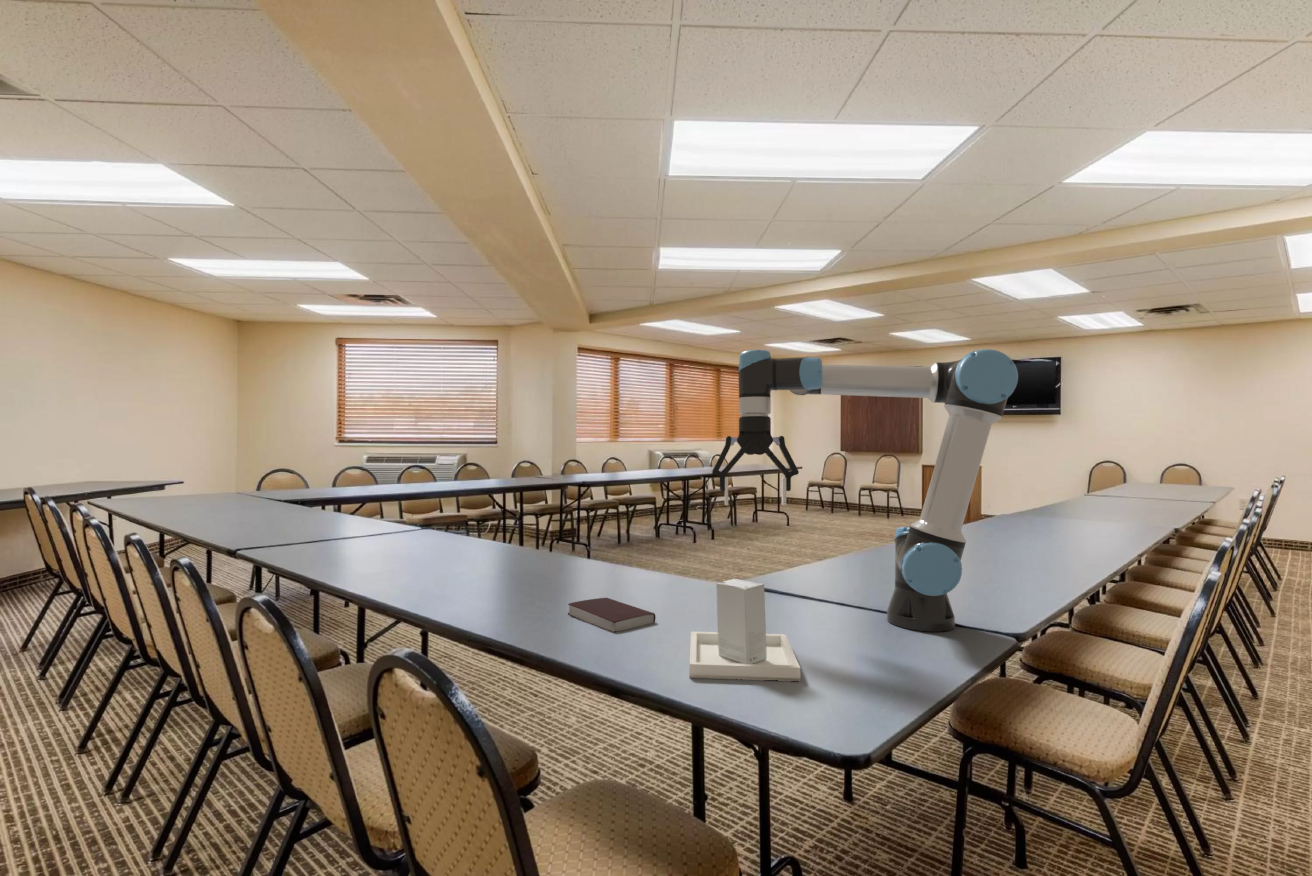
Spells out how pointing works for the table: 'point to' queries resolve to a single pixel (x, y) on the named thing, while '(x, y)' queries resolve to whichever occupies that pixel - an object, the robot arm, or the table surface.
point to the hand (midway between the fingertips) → (755, 505)
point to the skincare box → (741, 621)
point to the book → (610, 614)
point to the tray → (713, 666)
